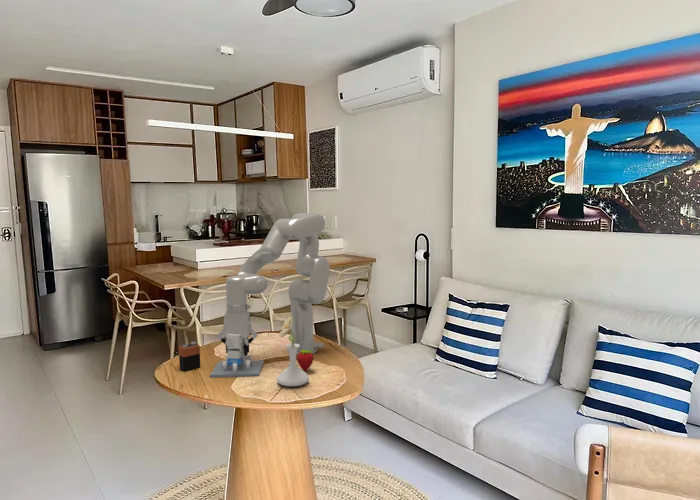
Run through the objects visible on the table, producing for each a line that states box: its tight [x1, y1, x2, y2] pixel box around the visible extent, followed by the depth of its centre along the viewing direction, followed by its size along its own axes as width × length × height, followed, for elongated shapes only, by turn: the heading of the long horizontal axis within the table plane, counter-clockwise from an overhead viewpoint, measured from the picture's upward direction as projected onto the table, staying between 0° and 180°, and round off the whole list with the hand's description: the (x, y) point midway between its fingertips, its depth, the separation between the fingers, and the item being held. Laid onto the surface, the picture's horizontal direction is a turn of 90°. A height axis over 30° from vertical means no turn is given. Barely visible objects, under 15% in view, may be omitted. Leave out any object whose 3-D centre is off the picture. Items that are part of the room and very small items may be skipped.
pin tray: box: [209, 354, 265, 379], centre depth 185 cm, size 18×16×4 cm
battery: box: [178, 341, 201, 372], centre depth 187 cm, size 4×7×10 cm, turn 135°
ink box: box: [226, 334, 249, 365], centre depth 185 cm, size 9×5×12 cm, turn 169°
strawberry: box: [296, 347, 314, 373], centre depth 183 cm, size 6×8×10 cm
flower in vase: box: [276, 315, 310, 387], centre depth 169 cm, size 13×11×25 cm
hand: (237, 354), depth 185 cm, fingers closed on ink box, 5 cm apart
